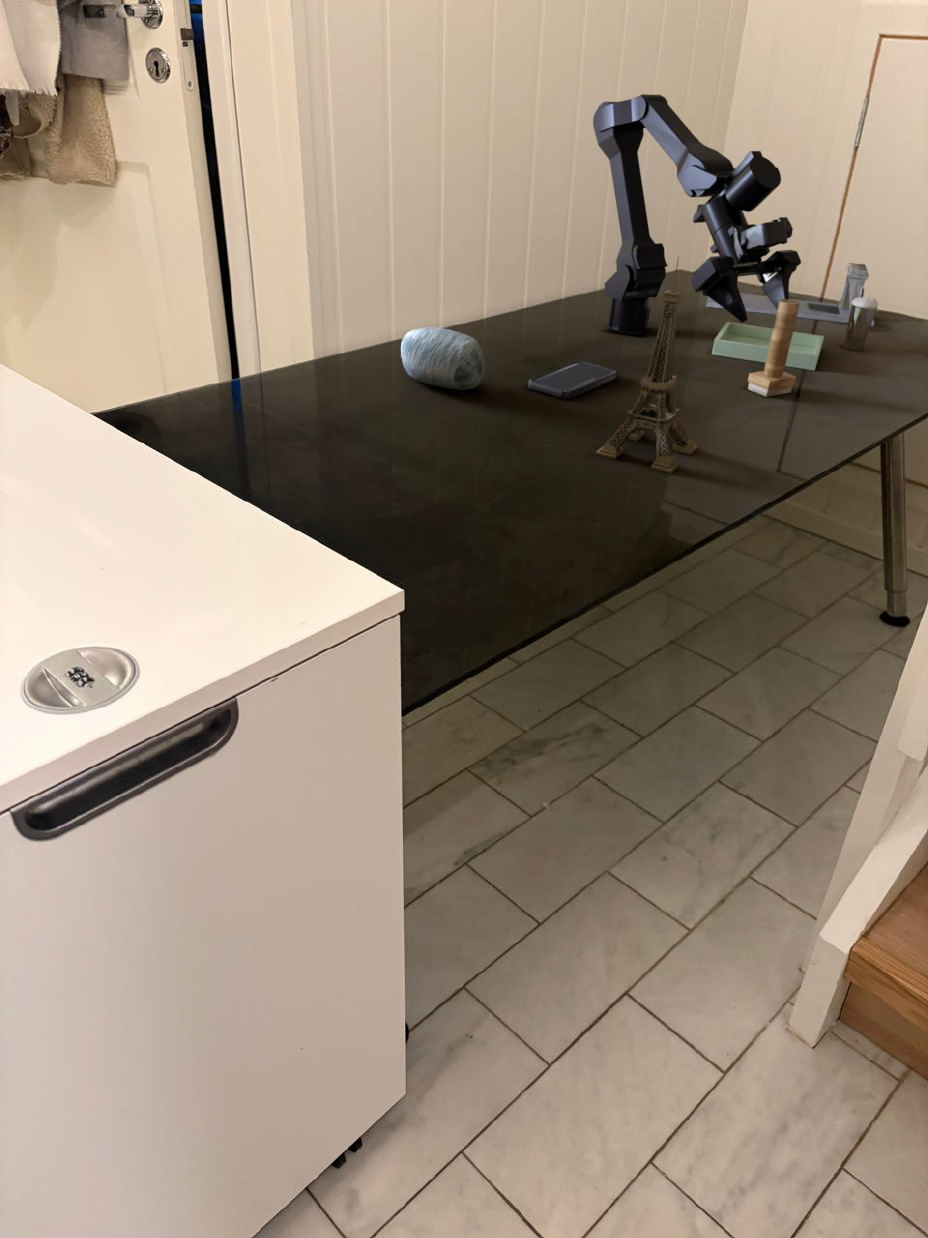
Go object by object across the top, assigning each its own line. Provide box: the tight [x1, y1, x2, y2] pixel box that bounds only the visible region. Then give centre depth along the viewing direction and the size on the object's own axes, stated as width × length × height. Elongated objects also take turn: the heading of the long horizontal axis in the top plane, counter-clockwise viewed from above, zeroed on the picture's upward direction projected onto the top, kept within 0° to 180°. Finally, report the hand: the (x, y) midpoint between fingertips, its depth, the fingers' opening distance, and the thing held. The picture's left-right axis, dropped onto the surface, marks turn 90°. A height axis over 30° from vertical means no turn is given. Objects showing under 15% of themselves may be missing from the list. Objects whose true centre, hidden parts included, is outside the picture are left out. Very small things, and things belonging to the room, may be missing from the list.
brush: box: [747, 298, 800, 398], centre depth 148 cm, size 6×4×14 cm
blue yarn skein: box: [400, 326, 486, 391], centre depth 145 cm, size 14×10×10 cm
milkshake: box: [843, 287, 879, 351], centre depth 173 cm, size 4×5×10 cm
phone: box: [527, 360, 617, 400], centre depth 150 cm, size 8×1×15 cm
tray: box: [711, 321, 825, 371], centre depth 169 cm, size 18×14×3 cm
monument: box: [705, 262, 875, 327], centre depth 195 cm, size 12×33×10 cm, turn 75°
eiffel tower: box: [594, 256, 699, 474], centre depth 121 cm, size 11×11×25 cm
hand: (766, 318), depth 149 cm, fingers open, 9 cm apart
